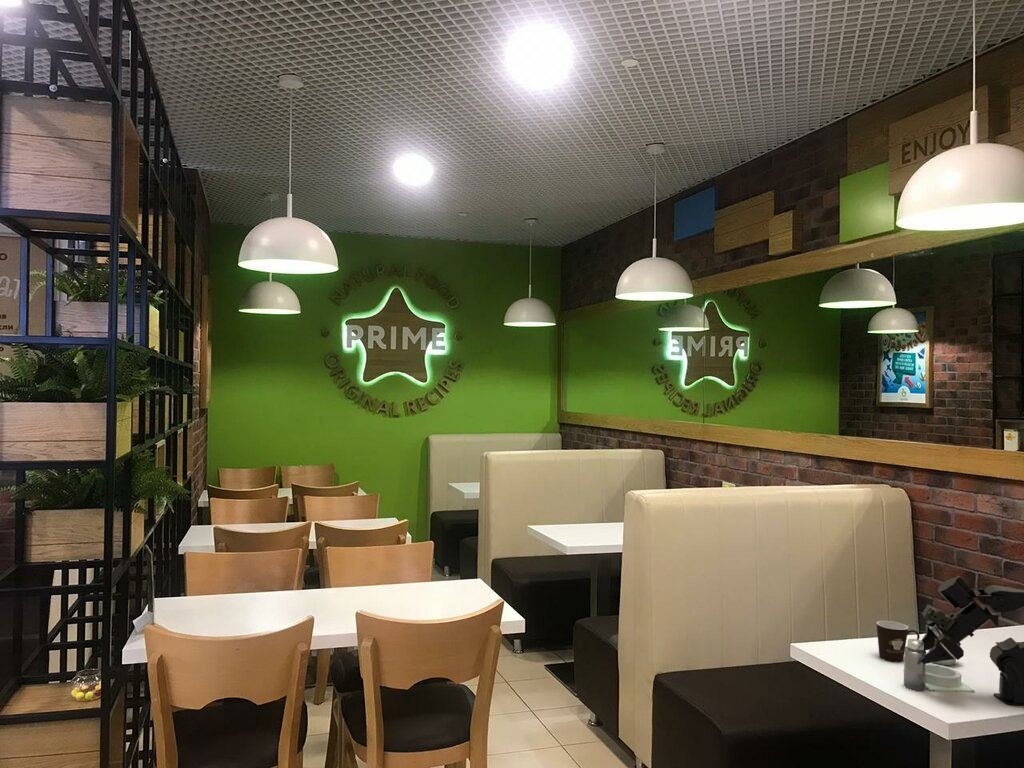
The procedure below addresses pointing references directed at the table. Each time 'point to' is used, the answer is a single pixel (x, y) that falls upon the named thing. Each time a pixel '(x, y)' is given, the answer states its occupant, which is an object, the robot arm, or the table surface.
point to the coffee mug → (892, 640)
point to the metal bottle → (914, 665)
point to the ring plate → (944, 679)
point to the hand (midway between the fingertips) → (918, 656)
